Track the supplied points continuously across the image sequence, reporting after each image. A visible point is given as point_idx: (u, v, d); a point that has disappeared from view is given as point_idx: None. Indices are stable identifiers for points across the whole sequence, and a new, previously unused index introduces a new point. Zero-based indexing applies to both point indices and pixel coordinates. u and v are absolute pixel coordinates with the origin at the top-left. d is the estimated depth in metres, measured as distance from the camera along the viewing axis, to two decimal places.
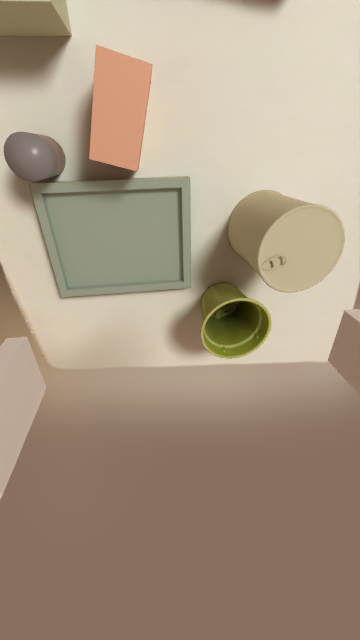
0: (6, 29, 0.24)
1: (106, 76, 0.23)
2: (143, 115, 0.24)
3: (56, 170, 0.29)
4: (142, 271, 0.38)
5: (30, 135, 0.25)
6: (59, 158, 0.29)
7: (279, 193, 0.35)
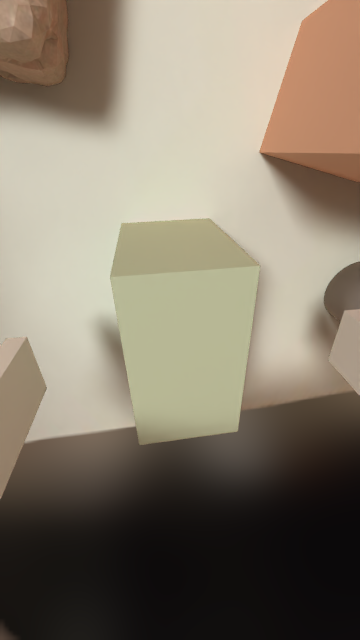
0: None
1: None
2: None
3: None
4: None
5: None
6: None
7: None
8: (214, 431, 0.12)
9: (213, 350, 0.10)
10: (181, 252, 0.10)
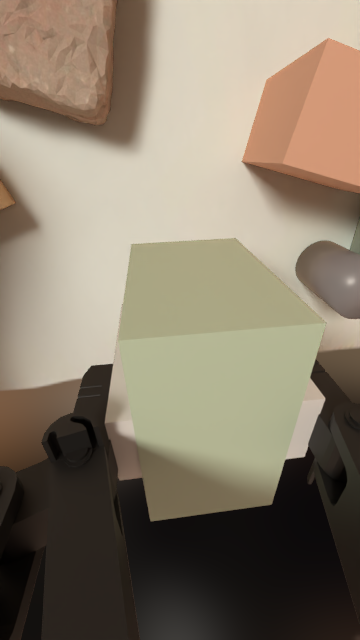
0: None
1: (322, 149, 0.13)
2: None
3: None
4: None
5: (343, 284, 0.18)
6: (344, 249, 0.20)
7: None
8: (242, 505, 0.10)
9: (252, 421, 0.07)
10: (211, 295, 0.07)
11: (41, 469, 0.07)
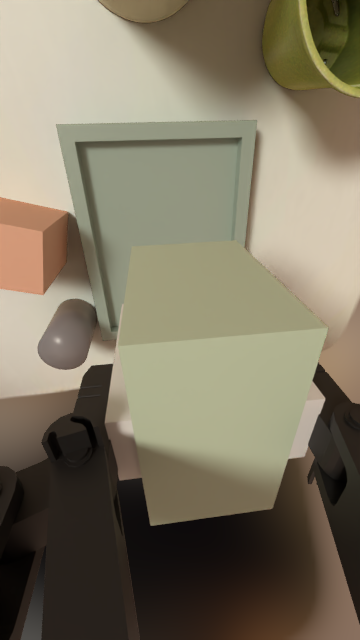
0: None
1: None
2: None
3: (80, 317, 0.25)
4: (215, 216, 0.24)
5: (39, 346, 0.23)
6: (69, 310, 0.25)
7: None
8: (243, 510, 0.10)
9: (253, 426, 0.07)
10: (212, 298, 0.07)
11: (41, 469, 0.07)
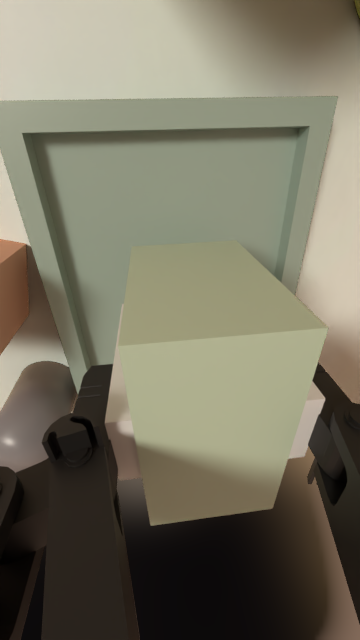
0: None
1: None
2: None
3: (50, 396, 0.17)
4: (253, 249, 0.15)
5: None
6: (32, 386, 0.17)
7: None
8: (243, 509, 0.10)
9: (253, 426, 0.07)
10: (212, 299, 0.07)
11: (41, 469, 0.07)
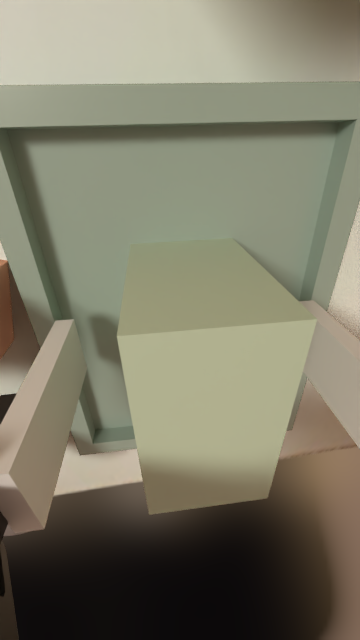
0: None
1: None
2: None
3: None
4: (276, 266, 0.13)
5: None
6: None
7: None
8: (239, 499, 0.10)
9: (247, 415, 0.08)
10: (207, 293, 0.07)
11: None
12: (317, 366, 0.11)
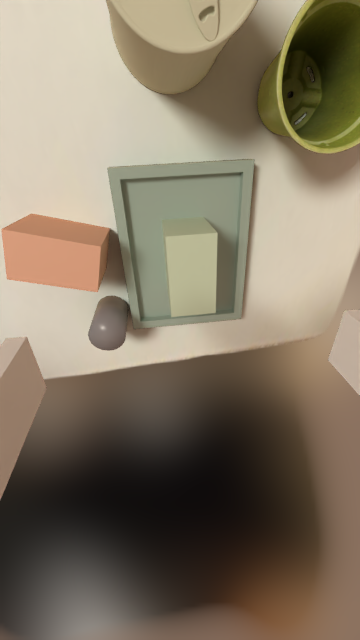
0: None
1: (26, 272, 0.25)
2: (47, 238, 0.23)
3: (118, 309, 0.32)
4: (223, 229, 0.30)
5: (89, 331, 0.30)
6: (109, 305, 0.32)
7: None
8: (204, 312, 0.27)
9: (202, 267, 0.25)
10: (189, 229, 0.25)
11: None
12: None
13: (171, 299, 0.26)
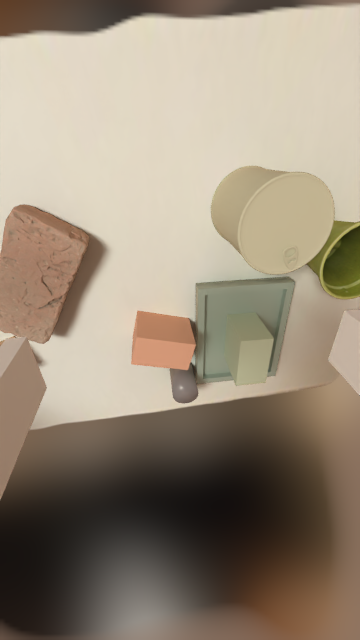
0: None
1: (144, 359, 0.37)
2: (163, 341, 0.36)
3: (190, 373, 0.44)
4: (268, 319, 0.43)
5: (174, 391, 0.42)
6: None
7: (215, 193, 0.33)
8: (258, 382, 0.40)
9: (261, 357, 0.38)
10: (253, 332, 0.37)
11: None
12: None
13: (237, 375, 0.39)
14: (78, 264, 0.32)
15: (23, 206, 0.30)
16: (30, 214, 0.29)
